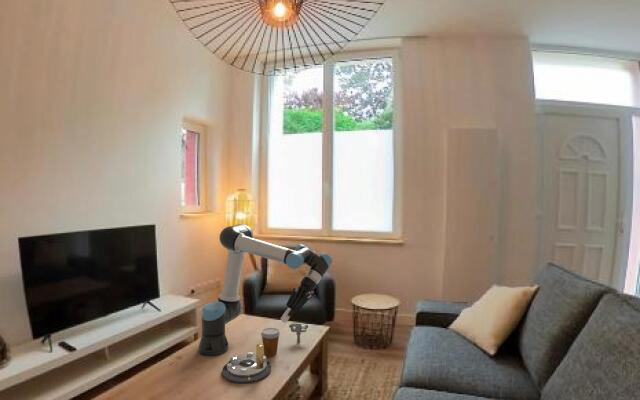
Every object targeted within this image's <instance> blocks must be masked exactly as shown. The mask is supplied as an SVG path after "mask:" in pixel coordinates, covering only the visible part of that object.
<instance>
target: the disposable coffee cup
mask: <svg viewBox="0 0 640 400" xmlns="http://www.w3.org/2000/svg"><path fill="white" fill-rule="evenodd" d="M280 334H281V332H280V330H279V329H278V328H277V327H276V328H275V327H268V328H264V329H262V331H261V332H260V336H261V337H262V339H261V340H262V344H263V345H264V355H265V356H266V357H267V358H268V357H269V358H273V357H275V356H277V352H278V346H279V340H280V339H279V338H280Z"/></svg>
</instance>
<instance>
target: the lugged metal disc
mask: <svg viewBox="0 0 640 400" xmlns="http://www.w3.org/2000/svg"><path fill="white" fill-rule="evenodd" d="M255 351H256V352H255V353H256V354H254V351H247V353H246V354H242V355H236V354H233V355H231V356H230V358H229V361H227V363H226V364H227V372H228V373H229V374H230V375H233V376H236V377H252V376H256V375H259V374H261V373H262V372H264V371H265V370H266V368H267V361H268V360H267V358H268V357H266V356H265V355H264V345H263V343H259V344H256V350H255Z"/></svg>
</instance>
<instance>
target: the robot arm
mask: <svg viewBox="0 0 640 400" xmlns="http://www.w3.org/2000/svg"><path fill="white" fill-rule="evenodd" d="M218 238H219V243H220V244H221V245H222V247H223V248H225V249H226V250H227V251H228V253H227V257H226V258H227V260H226V264H225V271H224V272H225V273H224V279H223V285H222V292H221V293H220V294H218V299H217V301H213V302H209V303H207V304H205V305H204V306H203V307H202V310H201V336H200V337H201V338H200V340H199V344H198V347H197V349H198V350H197V353H198V354H200V355H202V356H206V357H207V356H208V357H213V356H219V355H222V354H225V353H226V352H228V350H229V341H228V338H227V335H226V324H228V323H229V322H231V321H233V320H234V319H236V318H237V317H238V316H239V315H240V314H241V313H242V309H243V306H242V302H241V297H240V295H239V289H240V283H241V277H242V271H243V263H244V256H245V253H248V254H251V255H254V256H258V257H261V258H264V259H268V260H271V261H274V262H278V263H281V264H285V265H287V267H289V268H290V269H292V270H294V269H298V268H301V267H302V266H303V265H306V266H308V267H310V268H309V270H308V271H307V272H306V273H305V276H303V278H302V279H301V281H300V285H299V286H298V287H297V288H295V287H294V288H293V289H292V292H291V294H290V296H289V298H288V300H287V302H286V303H285V304H286V306H287V308H285V311H284V312H283V314H282V316H281V317H280V320H281V322H282V323H285V324H286V323H287V322H288V321H289V319H290V318H291V317H292V316H293V315H294V313H295V312H299V311H300V310H301V309H302V308H303V307H304V306H305V305H306V304H307V302H308V301H309V300H311V299H312V297H313V296H312V295H311V293H312V292H314V290H315V289H316V287H317V286H318V284H319V283H320V281H321V280H322V278H323V277H324V276H325V274H326V272H327V271H328V270H329V268H330V266H331V264H333V258H332V257H331V256H330V255H329V254H327V253H326V252H321V253H320V254H318V253H316V252H315V251H314V250H312V249H310V248H309V247H308V246H306V245H304V244H302V243H299V244H298V245H297V246H296V247H295V248H294V249H290V248H287V247H284V246H280V245H277V244H273V243H271V242H267V241H263V240H260V239H257V238H254V234H253V230H252V229H251V227H249V226H248V225H246V224H243V223H242V224H239V223H238V224H235V225H231V226H226V227H224V228H223V229H222V230H221V232H220V233H219V237H218Z"/></svg>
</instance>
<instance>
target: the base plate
mask: <svg viewBox="0 0 640 400" xmlns="http://www.w3.org/2000/svg"><path fill="white" fill-rule="evenodd" d="M266 361H267V368H266V370H265V371H264V372H262V373H261V374H259V375H256V376H252V377H236V376H233V375H230V374H229V373H228V372H227V363H226V364H225V365H224V366H223V367H222V373H221V374H222V377H223V379H225V380H226V381H227V382H231V383H234V384H244V385H245V384H251V383H253V384H254V383H257V382H259V381H262V380H264V379H266V378H267V377H268V376H269V375H270V374H271V372H272V364H271V363H270V362H269V361H268V360H266Z"/></svg>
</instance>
